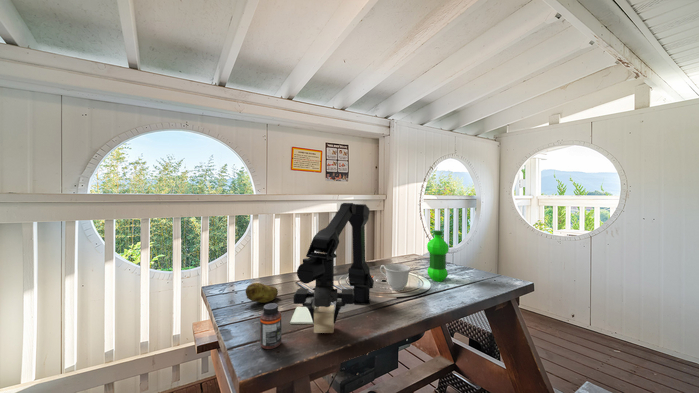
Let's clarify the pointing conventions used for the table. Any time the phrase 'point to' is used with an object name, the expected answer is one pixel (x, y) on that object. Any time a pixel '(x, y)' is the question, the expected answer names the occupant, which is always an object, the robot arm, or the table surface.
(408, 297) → the table surface
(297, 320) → the mat
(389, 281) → the teacup
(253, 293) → the potato
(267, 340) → the supplement bottle
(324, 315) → the cube
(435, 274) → the plastic bottle
